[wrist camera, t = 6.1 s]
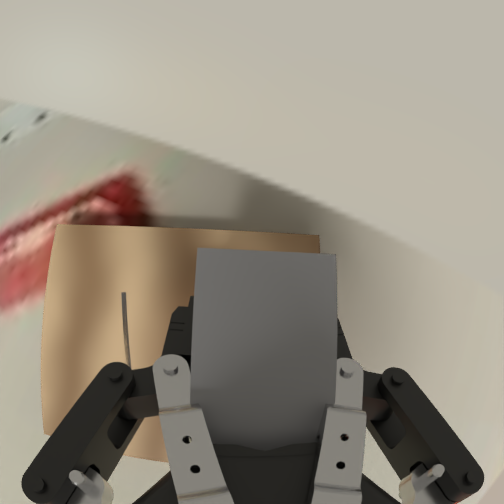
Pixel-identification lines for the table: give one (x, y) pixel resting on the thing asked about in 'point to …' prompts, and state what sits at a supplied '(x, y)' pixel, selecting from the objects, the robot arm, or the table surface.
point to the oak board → (124, 305)
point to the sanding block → (263, 345)
